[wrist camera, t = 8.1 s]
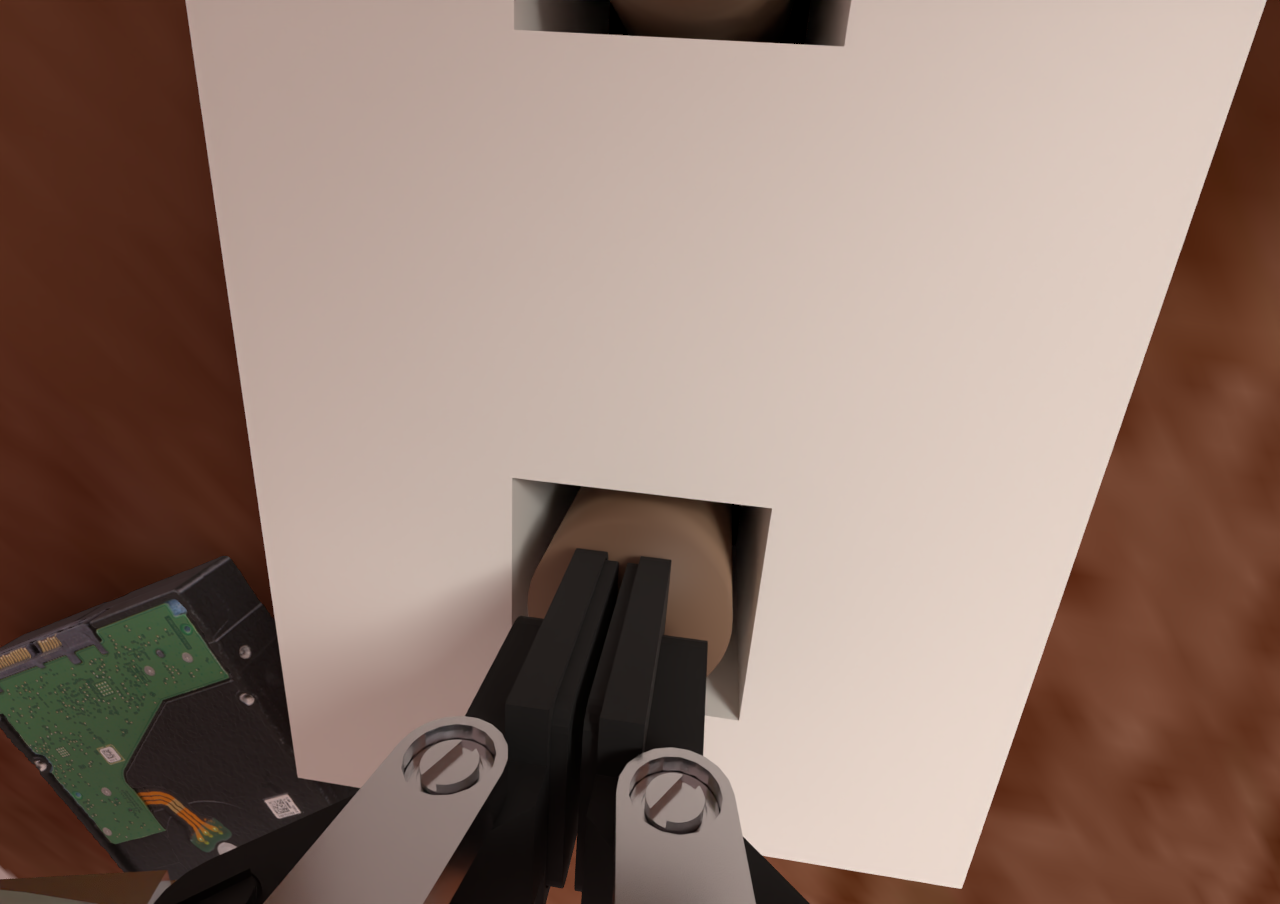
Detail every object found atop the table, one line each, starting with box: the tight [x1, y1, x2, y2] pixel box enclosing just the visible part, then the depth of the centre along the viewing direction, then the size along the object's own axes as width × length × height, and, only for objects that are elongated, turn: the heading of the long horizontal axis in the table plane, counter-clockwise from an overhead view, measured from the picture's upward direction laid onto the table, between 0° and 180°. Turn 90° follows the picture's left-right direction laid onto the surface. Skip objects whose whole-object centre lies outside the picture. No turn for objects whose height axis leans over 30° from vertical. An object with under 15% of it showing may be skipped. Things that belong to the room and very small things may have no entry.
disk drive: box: [0, 556, 360, 880], centre depth 24 cm, size 10×3×15 cm
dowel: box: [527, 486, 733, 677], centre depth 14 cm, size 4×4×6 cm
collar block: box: [185, 0, 1267, 889], centre depth 13 cm, size 14×22×7 cm, turn 176°
